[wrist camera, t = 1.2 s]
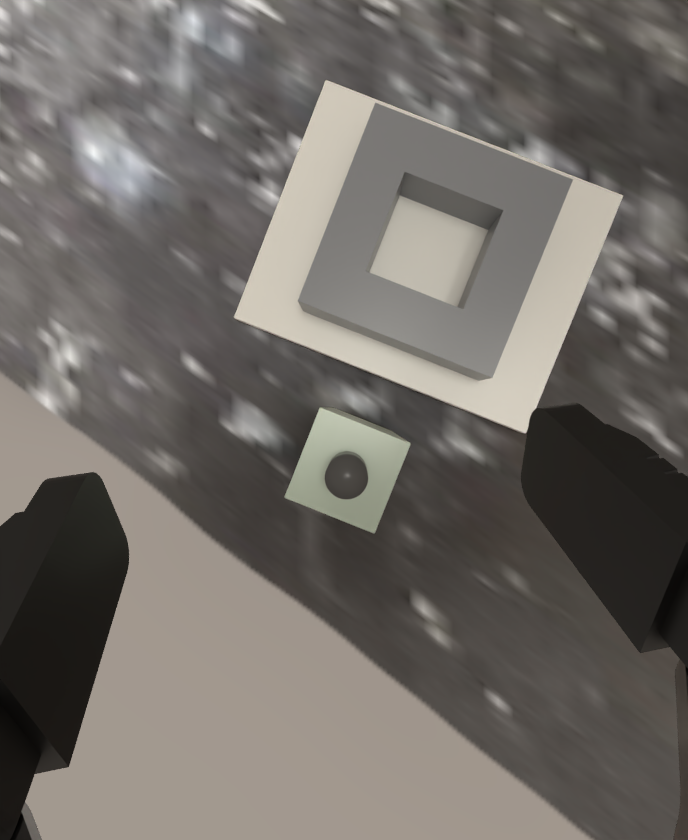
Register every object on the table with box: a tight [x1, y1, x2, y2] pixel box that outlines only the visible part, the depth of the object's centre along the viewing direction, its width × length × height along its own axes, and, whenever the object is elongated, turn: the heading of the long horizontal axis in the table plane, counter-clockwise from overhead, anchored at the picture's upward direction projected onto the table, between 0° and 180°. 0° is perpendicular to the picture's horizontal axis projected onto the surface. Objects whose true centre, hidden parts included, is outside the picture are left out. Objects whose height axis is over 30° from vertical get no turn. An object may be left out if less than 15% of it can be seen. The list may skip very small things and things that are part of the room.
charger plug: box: [284, 407, 411, 534], centre depth 25 cm, size 4×4×14 cm
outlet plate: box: [234, 80, 623, 433], centre depth 29 cm, size 20×16×4 cm
